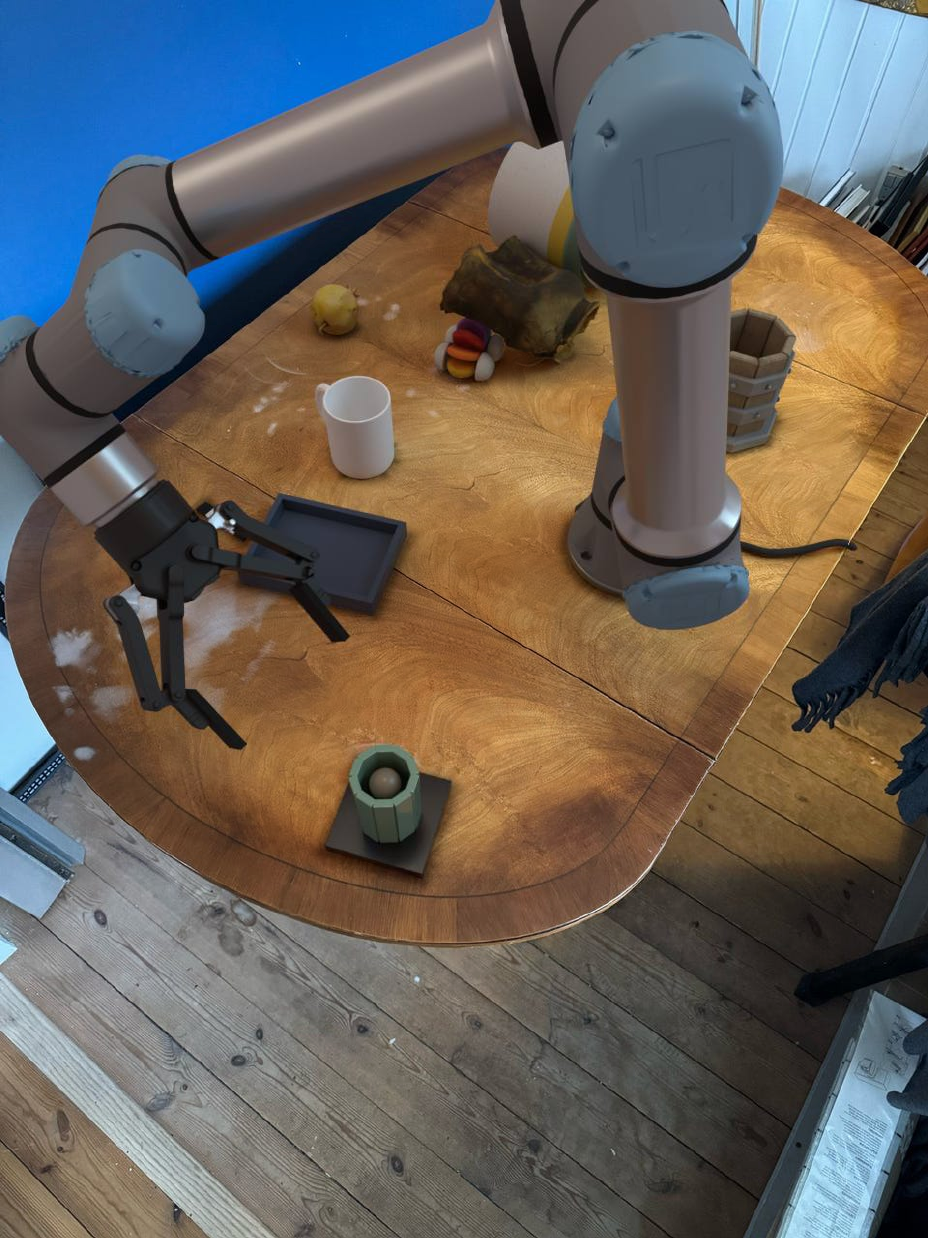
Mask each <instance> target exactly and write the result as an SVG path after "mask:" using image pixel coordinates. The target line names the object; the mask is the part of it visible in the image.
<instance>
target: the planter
mask: <svg viewBox="0 0 928 1238" xmlns="http://www.w3.org/2000/svg"><path fill="white" fill-rule="evenodd" d="M489 196H490V197H489V201H488V206H487V207H488V208H487V227H488V233H489V236H490V238H491V241H492V242H493V244H494V245H495V246H497V248H499V246H500V244H501V243H503V241H504V240H506V238H507V237H508V238H509V237H511V236H513V235H515V236H517V238H518V239H520V242H521V243H522V244H523V245H524V246H525V247H527V248H528V249H529V250H530V251H532V252H533V253H534V254H536V255H537V256H539V257H541V258H542V259H544V260H545V261H547V262H548V263H550V264H551V265H553V266H555V267H557V268H559V269H565V270H570V271H572V272H574V273H575V274H576V276H577V277H578V279H579V280H580V282H581V284H582V286H583V288H596V287H595V286H594V285H593V284H592V283H591V282H589V280H588V279H587V278H586V276H585V275H584V273H583V270H582V268H581V263H580V257H579V249H578V242H577V234H576V227H575V219H574V212H573V204H572V199H571V192H570V183H569V175H568V168H567V162H566V155H565V149H564V144H563V141H560V142H557V143H554V144H552V145H549V146H547V147H544V148H542V149H539V150H537V149H535V148H533V147H531V146H529V145H527V144H525V143H523V142H515V143H512V144H511V146H510V148H509V150H508V151H507V152H506V155H505V156H504V158H503V160H502V162H501V164H500V167H499V168H498V172H497V173H496V176H495V178H494V181H493V185H492V188H491V192H490V195H489Z"/></svg>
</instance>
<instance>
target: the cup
mask: <svg viewBox="0 0 928 1238" xmlns="http://www.w3.org/2000/svg"><path fill="white" fill-rule="evenodd" d="M314 396H315V399H314V400H315V405H316V409H317V411H318V414H319V417H320V419H321V420H322V422H323V423H324V424H325V426H326V433H327V438H328V439H327V440H328V445H329V452H330V457H331V461H332V463H333V466H334V467H335V468H336V469H337V470H338V471H339V472H340V473H341V474H343V475H345V476H347V477H348V478H352V479H358V480H366V479H372V478H375V477H378V476H381V475H382V474H383V473H385V472H386V471H387V470H388V469H389V468H390V467H391V465H392V463H393V461H394V458H395V440H394V439H395V438H394V424H393V412H392V399H391V393H390V390H389V389H388V387H387V386H386V385H385V384H383V382H381V381H380V380H377V379H375V378H373V377H370V376H365V375H354V376H347V377H344V378H341V379H338V380H336V381H334V382H333V383H332V384H331V385H329V384H327V383H324V382H323V383H319V384H318V385H317V386H316V387H315V393H314Z"/></svg>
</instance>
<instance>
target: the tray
mask: <svg viewBox="0 0 928 1238" xmlns="http://www.w3.org/2000/svg"><path fill="white" fill-rule="evenodd" d="M262 523H264V524H266V525H268V526H270V527H272V528H274V529H276V530H278V531H280V532H282V533H285V534H287V535H289V536H291V537H293V538H295V539H297V540H299V541H301V542H303V543H305V544H307V545H309V546H311V547H313V548H316V549H317V550H318V551H319V552H320V558H319V559H318V560H317V561H316V562H315V564H314V566H313V568H314V570H315V575H314V578H315V579H316V581H317V582H318V583H319V584H320V585H321V587H322V588H323V589H324V590H325V592H326V593H327V594H328V595H329V597H330V599H331V603H330V604H329V605H328V606H331V607H335V608H338V609H342V610H347V611H351V612H354V613H355V612H356V613H359V614H363V615H367V616H371V617H374V616H375V614H376V611H377V609H378V606H379V605H380V602H381V600H382V597H383V595H384V592H385V590H386V587H387V585H388V582H389V580H390V578H391V575H392V574H393V571H394V568H395V565H396V563H397V561H398V558H399V556H400V553H401V551H402V549H403V546H404V545H405V542H406V540H407V537H408V528H407V521H404V520H400V519H399V520H398V519H395V518H391V517H386V516H383V515H378V514H374V513H369V512H364V511H361V510H356V509H352V508H347V507H343V506H339V505H335V504H329V503H326V502H321V501H318V500H317V501H316V500H312V499H308V498H305V497H301V496H300V497H299V496H296V495H292V494H291V495H290V494H287V493H282V492H278V494H277V495H276V498H275V499H274V501H273V503H272V504H271V507H270V509H268V512H267V514H266V516H265V518H264V519H263V521H262ZM245 555H248V556H254V557H259V558H264V559H269V560H275V561H280V562H285V563H291V564H295V562H296V561H294V560H292V559H290V558H288V557H286V556H283V555H281V554H279V553H277V552H275V551H273V550H271V549H269V548H266V547H264V546H262V545H260V544H258V543H256V542H254V541H251V543H250V546H249V547H248V549H247V551H246V553H245ZM237 574H238V577H239V580H240V583H241V584H243V585H246V586H250V587H254V588H258V589H262V590H266V591H271V592H275V593H278V594H282V595H286V596H290V597H293V595H292V594H291V593H290V592H289V591H288V590H289V589H290V588H291V587H292V586H293V585H296V584H295V582H292V581H286V580H281V579H275V578H270V577H264V576H258V575H253V574H247V573H241V572H237Z"/></svg>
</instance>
